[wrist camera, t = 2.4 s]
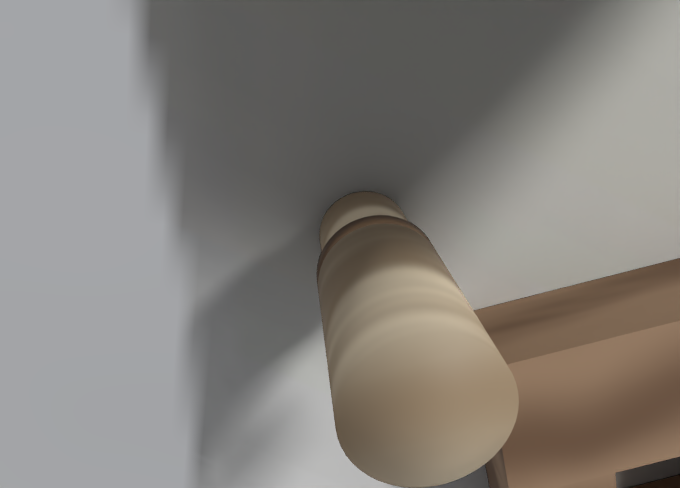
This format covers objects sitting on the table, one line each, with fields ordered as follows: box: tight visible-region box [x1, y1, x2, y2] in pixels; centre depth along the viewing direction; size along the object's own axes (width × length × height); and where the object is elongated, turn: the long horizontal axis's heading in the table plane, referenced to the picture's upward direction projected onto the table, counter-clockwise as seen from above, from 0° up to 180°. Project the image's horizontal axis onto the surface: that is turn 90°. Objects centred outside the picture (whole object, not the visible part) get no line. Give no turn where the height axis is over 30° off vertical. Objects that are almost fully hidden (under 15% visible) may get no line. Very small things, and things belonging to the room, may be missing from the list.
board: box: [474, 258, 680, 488], centre depth 26 cm, size 15×16×4 cm
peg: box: [317, 191, 519, 488], centre depth 18 cm, size 4×4×11 cm
